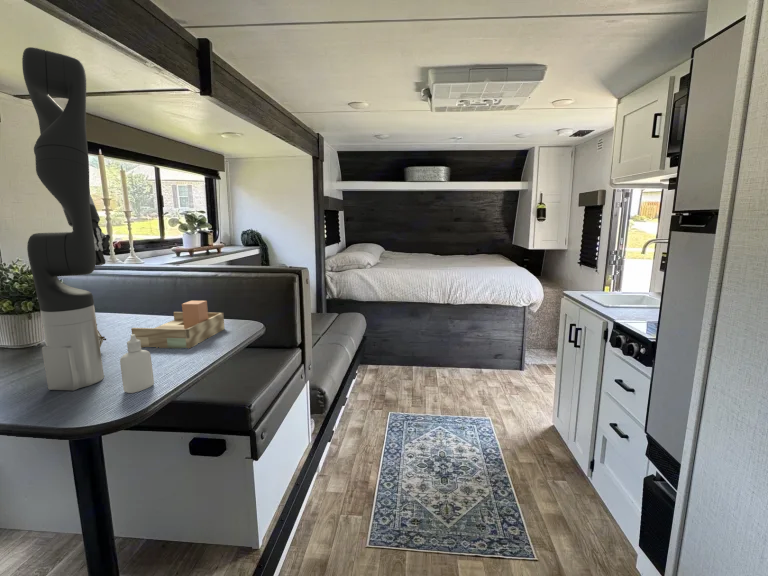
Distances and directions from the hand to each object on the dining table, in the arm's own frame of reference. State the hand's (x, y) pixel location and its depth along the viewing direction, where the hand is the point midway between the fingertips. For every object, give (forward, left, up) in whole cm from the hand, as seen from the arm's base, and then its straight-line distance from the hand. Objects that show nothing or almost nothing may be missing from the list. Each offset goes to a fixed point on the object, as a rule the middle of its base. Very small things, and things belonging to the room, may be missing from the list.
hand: (100, 264), depth 115 cm
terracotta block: (+6, -23, -20) cm, 32 cm away
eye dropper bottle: (-30, -32, -23) cm, 49 cm away
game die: (-11, -3, -23) cm, 26 cm away
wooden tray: (+6, -19, -23) cm, 30 cm away
